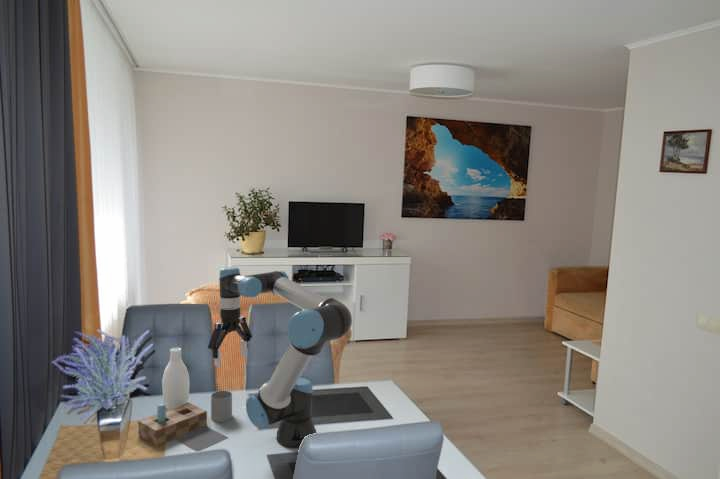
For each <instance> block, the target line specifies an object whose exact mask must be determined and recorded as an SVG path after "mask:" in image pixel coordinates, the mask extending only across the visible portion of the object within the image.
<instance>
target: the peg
mask: <svg viewBox="0 0 720 479" xmlns="http://www.w3.org/2000/svg"><path fill="white" fill-rule="evenodd" d="M156 406H157V408H156V409H157V410H156V412H157V413H156V414H157V423H159V424H161V423H164V422H166V411H167V409H166V404H164V402H163V403H159V404H158V403H157V405H156Z"/></svg>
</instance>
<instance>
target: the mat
mask: <svg viewBox="0 0 720 479" xmlns="http://www.w3.org/2000/svg"><path fill="white" fill-rule="evenodd" d="M227 439H229V437H228V436H226V435H224V434H223V433H220V432H219V431H217V430H215V429H213V428H210V427H209V426H203V427H200V428H198V429H196V430H193V431H191V432H188V433H186V434H183V435H181V436H179V437H176V438H174V440H175V441H177V442H178V443H180V444H182V445H184V446H186V447H187V448H189V449H190V450H191V449H192V450H193V451H194V452H197V451H199V452H201V451H203V450H205V449H207V448H209V447H212V446H214V445H216V444H219V443H221V442H223V441H225V440H227Z"/></svg>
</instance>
